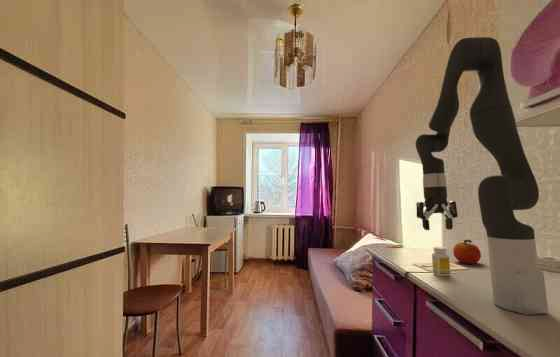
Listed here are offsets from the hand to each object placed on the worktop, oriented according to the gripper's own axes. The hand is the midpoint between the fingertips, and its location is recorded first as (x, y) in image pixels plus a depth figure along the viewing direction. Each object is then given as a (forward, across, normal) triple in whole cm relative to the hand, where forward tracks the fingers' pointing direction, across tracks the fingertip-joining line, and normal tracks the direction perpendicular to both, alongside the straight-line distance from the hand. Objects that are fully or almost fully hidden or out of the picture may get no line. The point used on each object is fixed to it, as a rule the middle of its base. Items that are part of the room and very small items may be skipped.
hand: (438, 229), depth 94 cm
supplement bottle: (+16, 0, 0) cm, 16 cm away
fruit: (+16, +22, +14) cm, 31 cm away
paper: (+16, +6, +10) cm, 20 cm away
